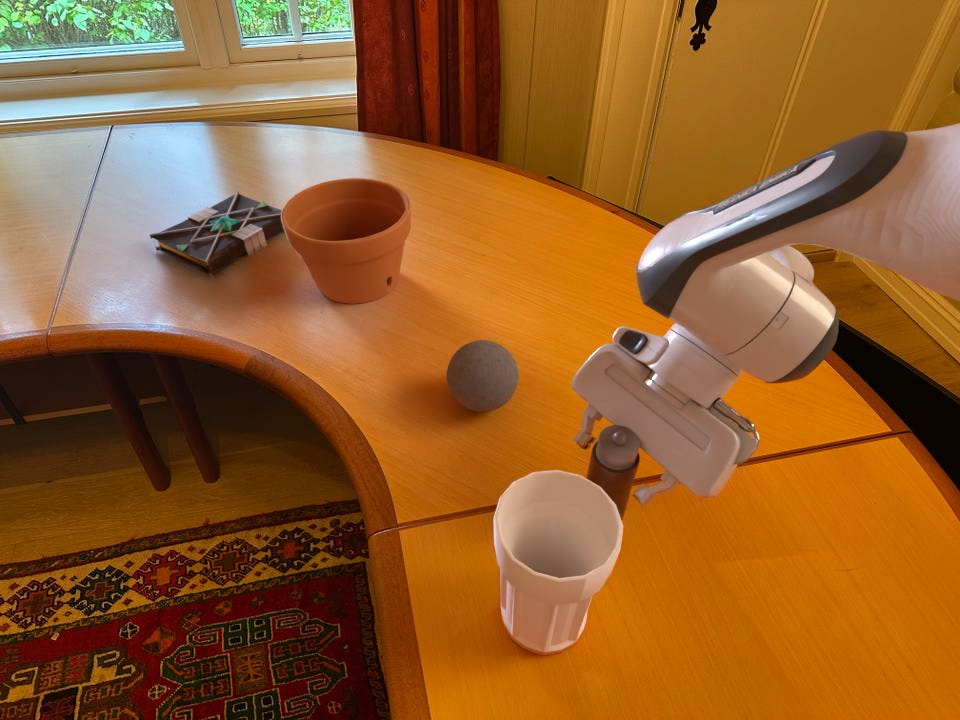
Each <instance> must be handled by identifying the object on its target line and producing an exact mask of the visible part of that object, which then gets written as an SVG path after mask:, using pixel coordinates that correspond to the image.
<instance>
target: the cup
mask: <svg viewBox="0 0 960 720" xmlns="http://www.w3.org/2000/svg"><path fill="white" fill-rule="evenodd" d="M586 478H587V477H585V476H582V475H581V474H579V473H578V474H577V473H574V472H573V473H572V472H569V471H564V470H560V469H553V470H552V469H551V470H541V471H533V472H531V473H529V474H527V475H525V476H523V477H520V478H518V479H517V480H514V481H513V482H512V483H511V484H510V485H509V486H508V487H507V489H506V490H505V491H504V492H503V493H502V494H501V495H500V497H498V498H499V499H498V502H497V505H496V508H495V512H494V515H493V544H494V550H495V557H496V563H497V566H498V567H499V571H500V572H499V576H500V577H499V582H500V583H499V584H500V586H499V587H500V588H499V589H500V593H499V595H500V599H499V600H500V601H499V602H500V614H501V615H500V616H501V620H502V624H503V627H504V628H505V630H506V632H507V634H508V636H509V637H510V639H511V640H512V641H513V642H514V643H516V644H517V645H518V646H520V647H521V648H523V649H524V650H526V651H528V652H531V653H534V654H537V655H542V656H548V655H549V656H550V655H555V654H560V653H563V652H565V651H567V650H569V649H570V648H572V647H573V646H574V645H576V644H577V643H578V641H579V639H580V638H581V636H582V634H583V633H584V630H585V627H586V623H587V617H588V612H589V611H588V610H589V608H590V605H591V603H592V599H593V596H594V595H595V594H597V593H598V592H600V591H601V590H602V588H603V586H604V585H605V583H606V582H607V580H608V579H609V577H610V576H611V574H612V573H613V569H614V567H615V564H616V562H617V560H618V557H619V554H620V551H621V548H622V542H623V534H624V524H623V520H622V521H621V518H620V515H619V512H618V509H617V507H616V504H615V503H614V502H613V501H612V500H611V499H610V497H609V496H608V495H607V494H606V493H605V491H604V490H603V489H602V488H601V487H600V486H598V485H596V484H595V483H593V482H591V481H589V480H588V479H586Z"/></svg>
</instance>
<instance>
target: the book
mask: <svg viewBox="0 0 960 720" xmlns="http://www.w3.org/2000/svg"><path fill="white" fill-rule="evenodd" d="M281 211H282V209H280V208H277V207H274V206H271V205H269V204H268V203H267V202H266V201H265V200H264V199H263V200H261V202H260V201H258V200H255V199H252V198H250V197H248V196H245V195H243V194H241V193H240V191H238V190H237V191H236V192H235V193H234V194H233V195H231V196H229V197H227V198H225V199H224V200H221V201H220V202H218V203H216V204H214V205H212V206H210V207H209V206H205V207H204V208H202V209H200V210H199V211H196V212H194V213H192V214H189V215H188V216H187V219H185V220H184V221H182V222H179V223H178V224H175V225H173V226H171V227H169V228H166V229H164V230H162V231H160V232H155V233H149V238H150V239H154V240H155V241H157V242H158V245H159V246H158V245H156V246H155V250H156V251H160V252H162V253H165V254H167V255H170V256H172V257H174V258H176V259H178V260H180V261H182V262H184V263H186V264H189V265H190V266H193V267H194V268H196V269H198V270H200V271H202V272H203V273H206V274H207V275H209V277H210V279H213V278H214V276H215V273H216V272H218V271H219V270H221V269H222V268H223V267H225V266H227V265H228V264H230V263H231V262H233V261H234V260H236V259H238V258H239V257H241V256H243V255H244V256H246V257H250V256H252V255H254V253H257V252H258V251H260V250H261V249H264V248H265V247H267V245H268V244H267V241H269V240H271V239H272V238H274V237H276V236H278V235H280V234H281V233H284V232H285V231H284V228H283V225H282V222H281Z"/></svg>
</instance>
